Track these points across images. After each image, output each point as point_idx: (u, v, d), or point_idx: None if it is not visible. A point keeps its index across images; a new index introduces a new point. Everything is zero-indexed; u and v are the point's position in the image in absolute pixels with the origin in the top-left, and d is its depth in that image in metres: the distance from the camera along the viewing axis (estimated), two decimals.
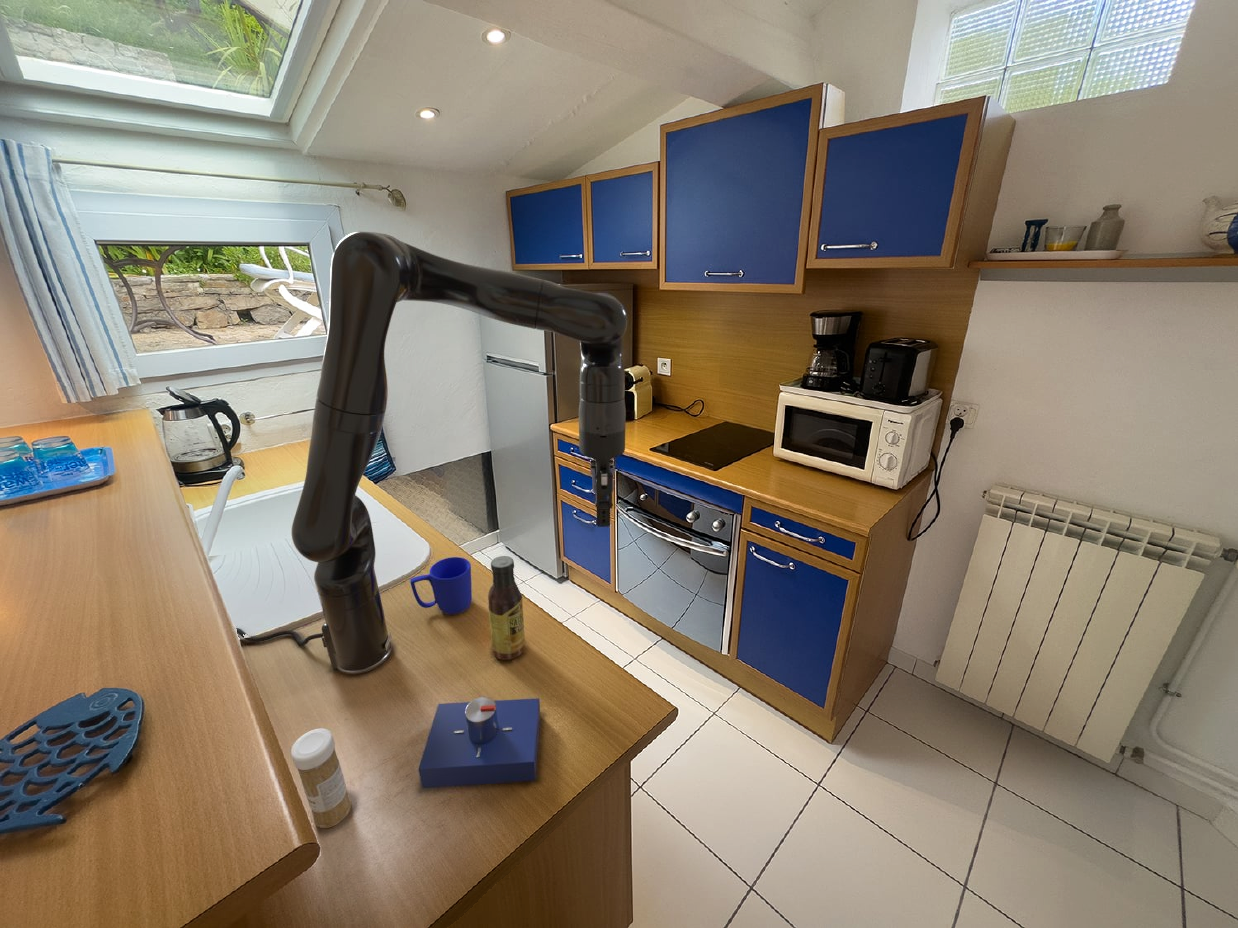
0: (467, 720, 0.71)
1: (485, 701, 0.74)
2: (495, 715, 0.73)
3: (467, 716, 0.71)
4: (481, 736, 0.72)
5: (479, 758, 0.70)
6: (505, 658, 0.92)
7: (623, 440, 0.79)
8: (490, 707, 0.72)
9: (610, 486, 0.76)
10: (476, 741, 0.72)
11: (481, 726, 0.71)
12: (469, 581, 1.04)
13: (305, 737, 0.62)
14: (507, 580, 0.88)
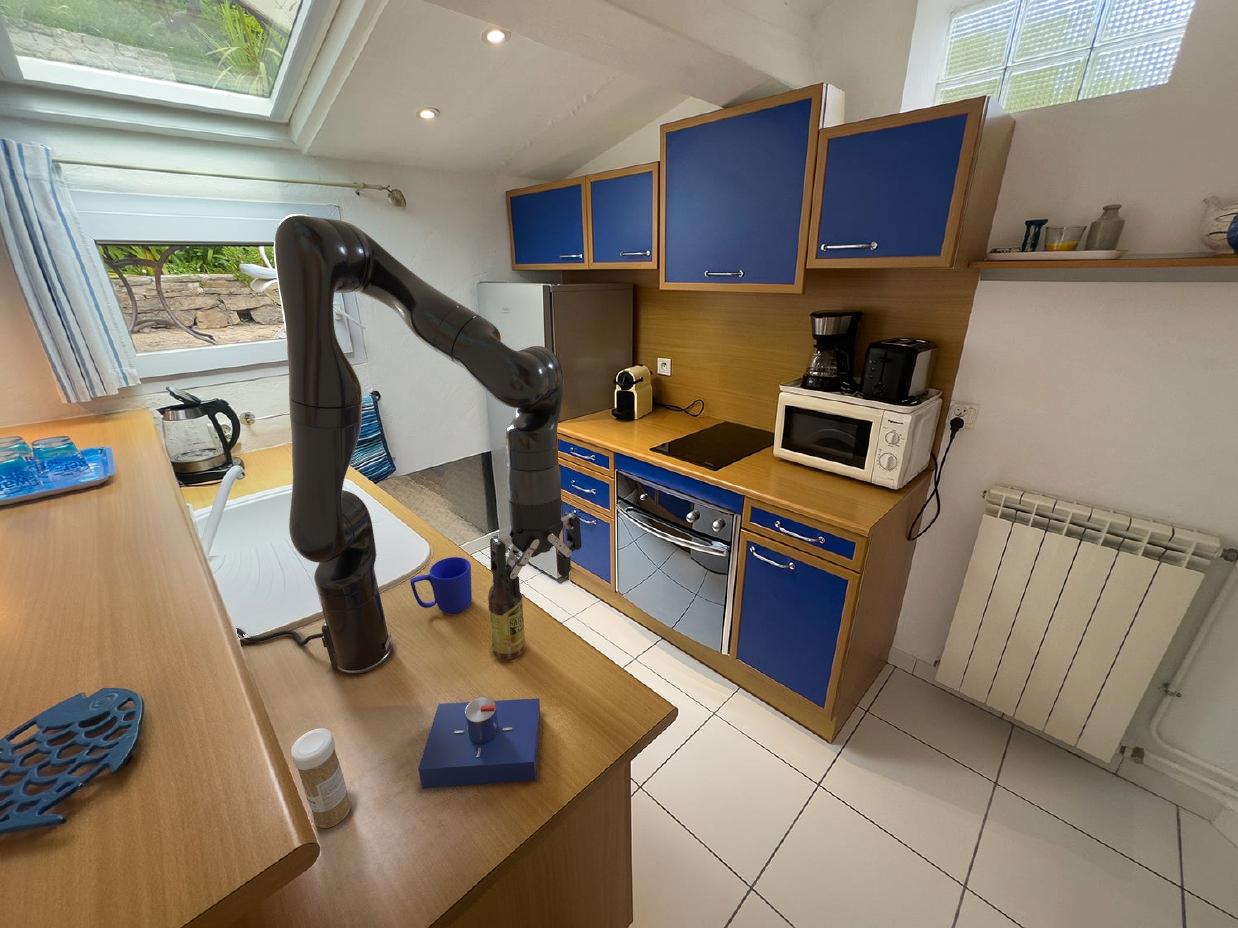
0: (467, 720, 0.71)
1: (485, 701, 0.74)
2: (495, 715, 0.73)
3: (467, 716, 0.71)
4: (481, 736, 0.72)
5: (479, 758, 0.70)
6: (505, 658, 0.92)
7: (536, 516, 0.68)
8: (490, 707, 0.72)
9: (496, 556, 0.69)
10: (476, 741, 0.72)
11: (481, 726, 0.71)
12: (469, 581, 1.04)
13: (305, 737, 0.62)
14: None
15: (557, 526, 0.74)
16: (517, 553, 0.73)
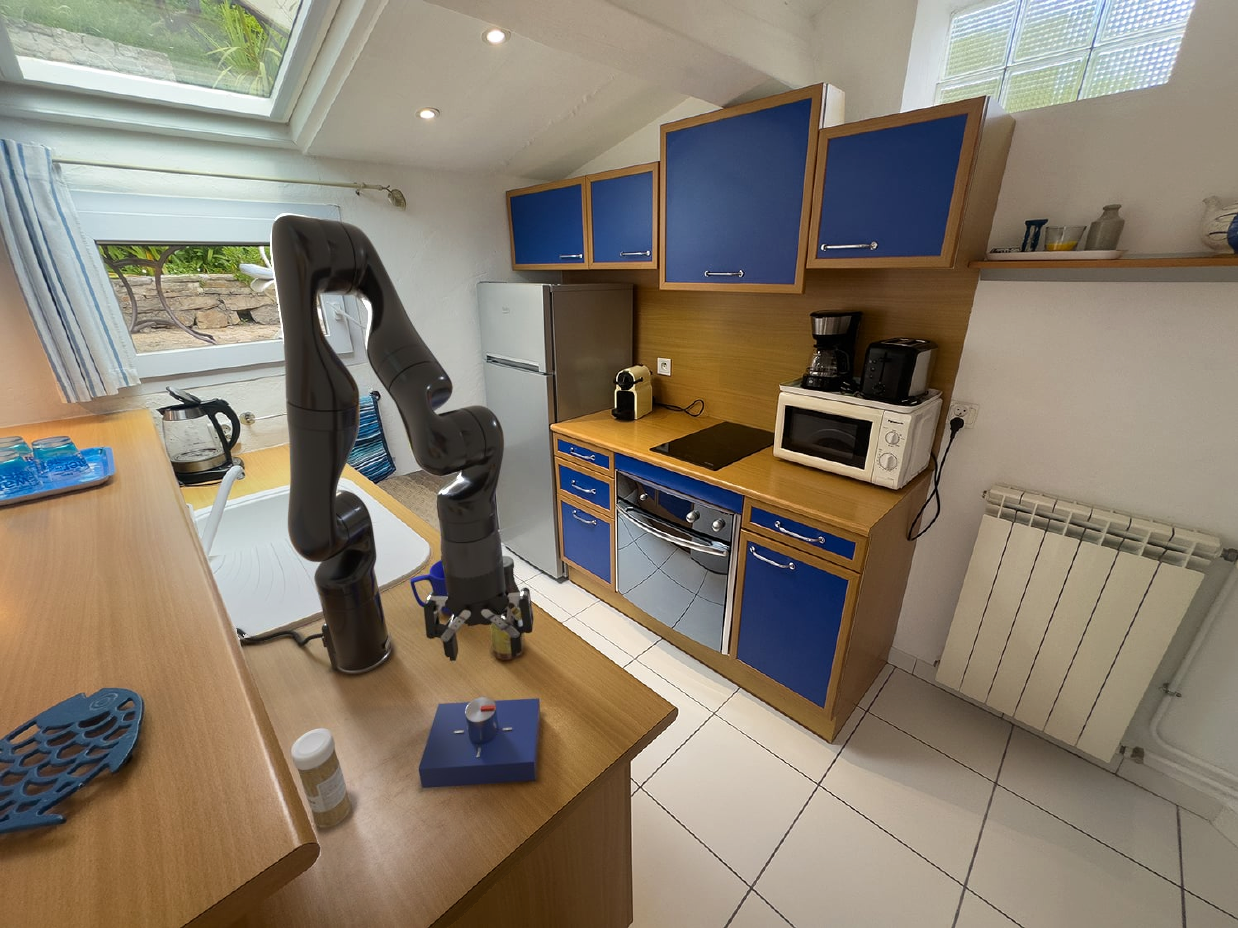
0: (467, 720, 0.71)
1: (485, 701, 0.74)
2: (495, 715, 0.73)
3: (467, 716, 0.71)
4: (481, 736, 0.72)
5: (479, 758, 0.70)
6: (505, 658, 0.92)
7: (456, 588, 0.62)
8: (490, 707, 0.72)
9: None
10: (476, 741, 0.72)
11: (481, 726, 0.71)
12: None
13: (305, 737, 0.62)
14: (507, 580, 0.88)
15: (498, 602, 0.66)
16: None
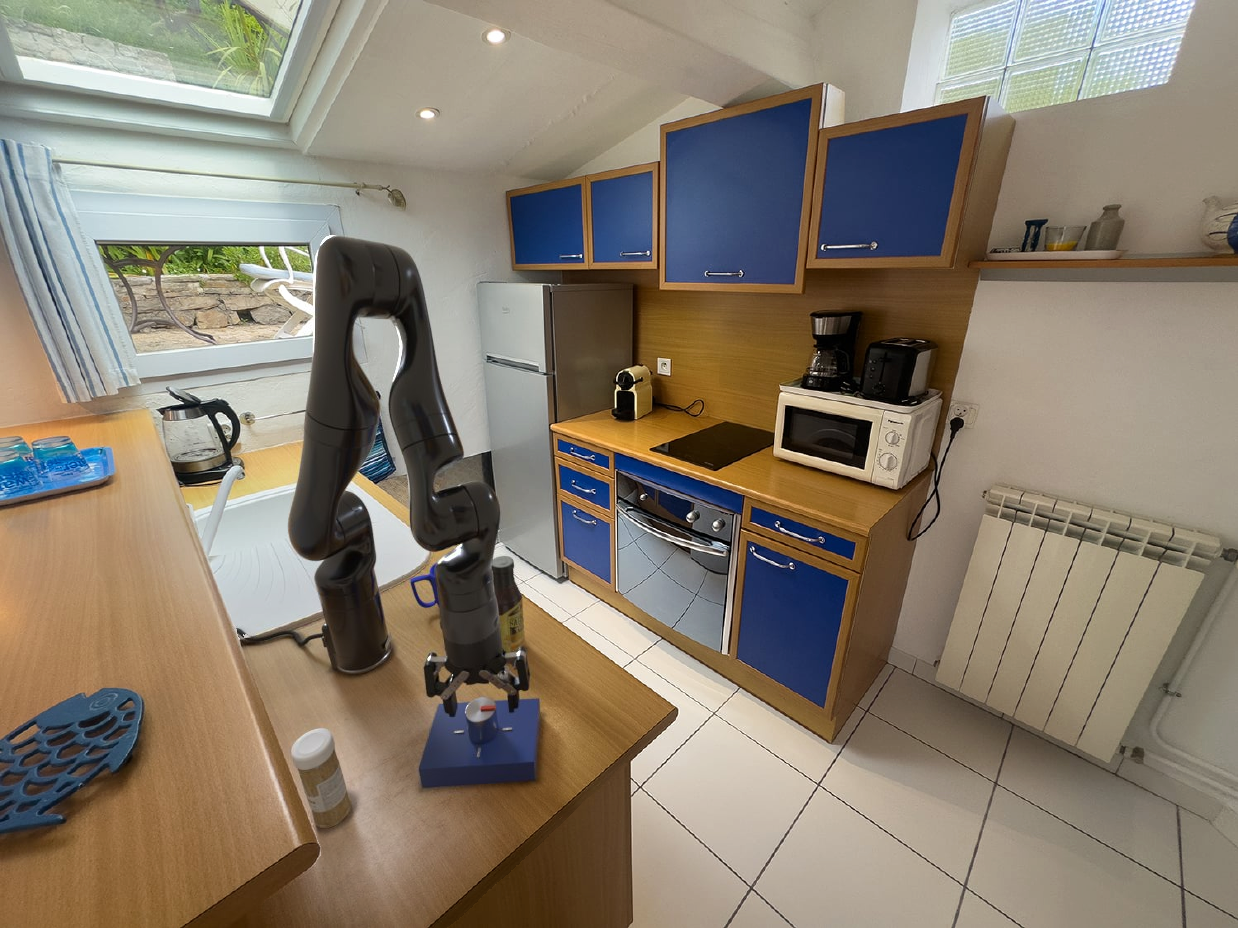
0: (467, 720, 0.71)
1: (485, 701, 0.74)
2: (495, 715, 0.73)
3: (467, 716, 0.71)
4: (481, 736, 0.72)
5: (479, 758, 0.70)
6: None
7: (454, 653, 0.64)
8: (490, 707, 0.72)
9: None
10: (476, 741, 0.72)
11: (481, 726, 0.71)
12: None
13: (305, 737, 0.62)
14: (507, 580, 0.88)
15: (495, 663, 0.68)
16: None
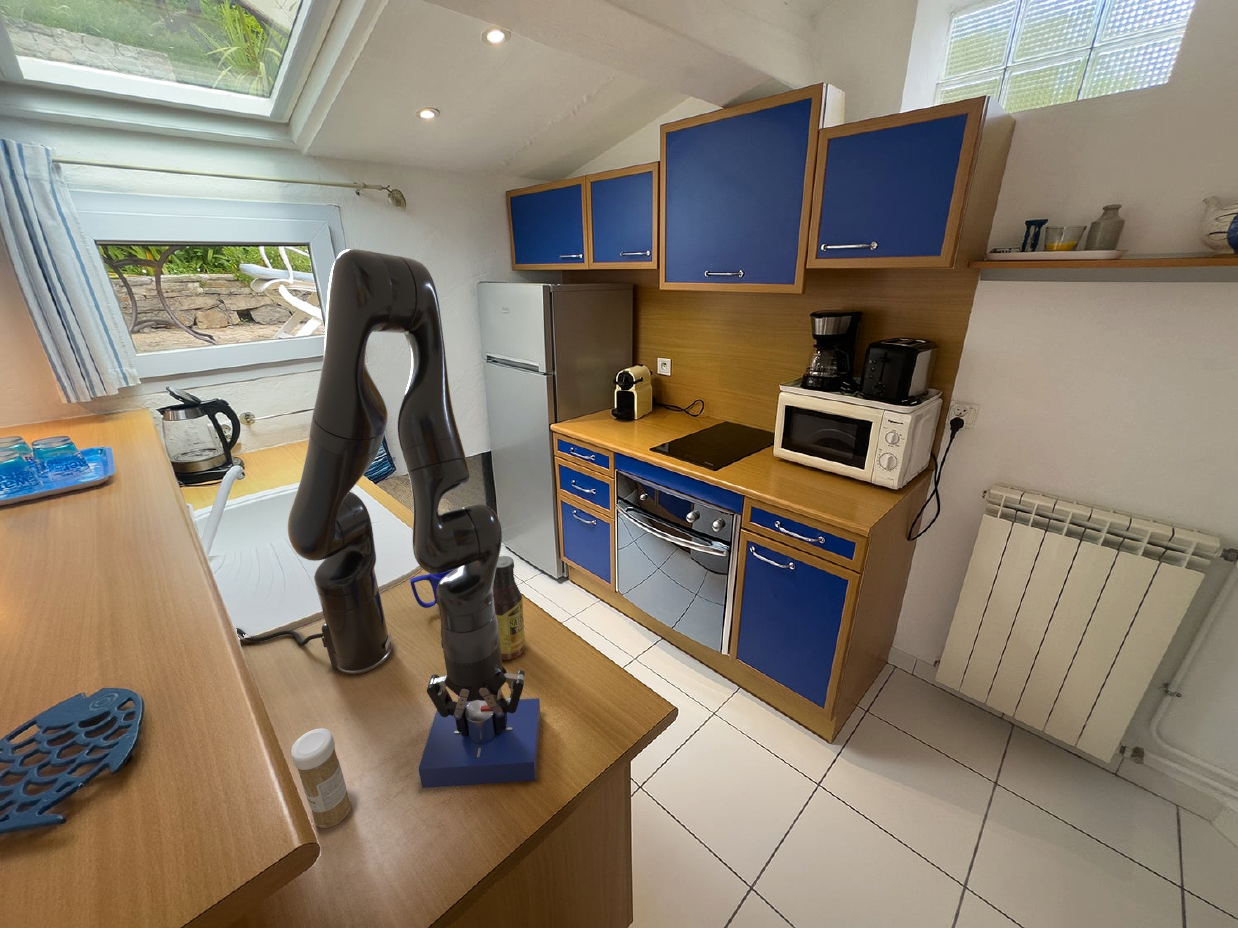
0: (467, 720, 0.71)
1: (485, 701, 0.74)
2: None
3: (467, 716, 0.71)
4: (481, 736, 0.72)
5: (479, 758, 0.70)
6: (505, 658, 0.92)
7: (455, 672, 0.65)
8: None
9: (431, 697, 0.70)
10: (476, 741, 0.72)
11: (481, 726, 0.71)
12: None
13: (305, 737, 0.62)
14: (507, 580, 0.88)
15: (495, 680, 0.69)
16: None
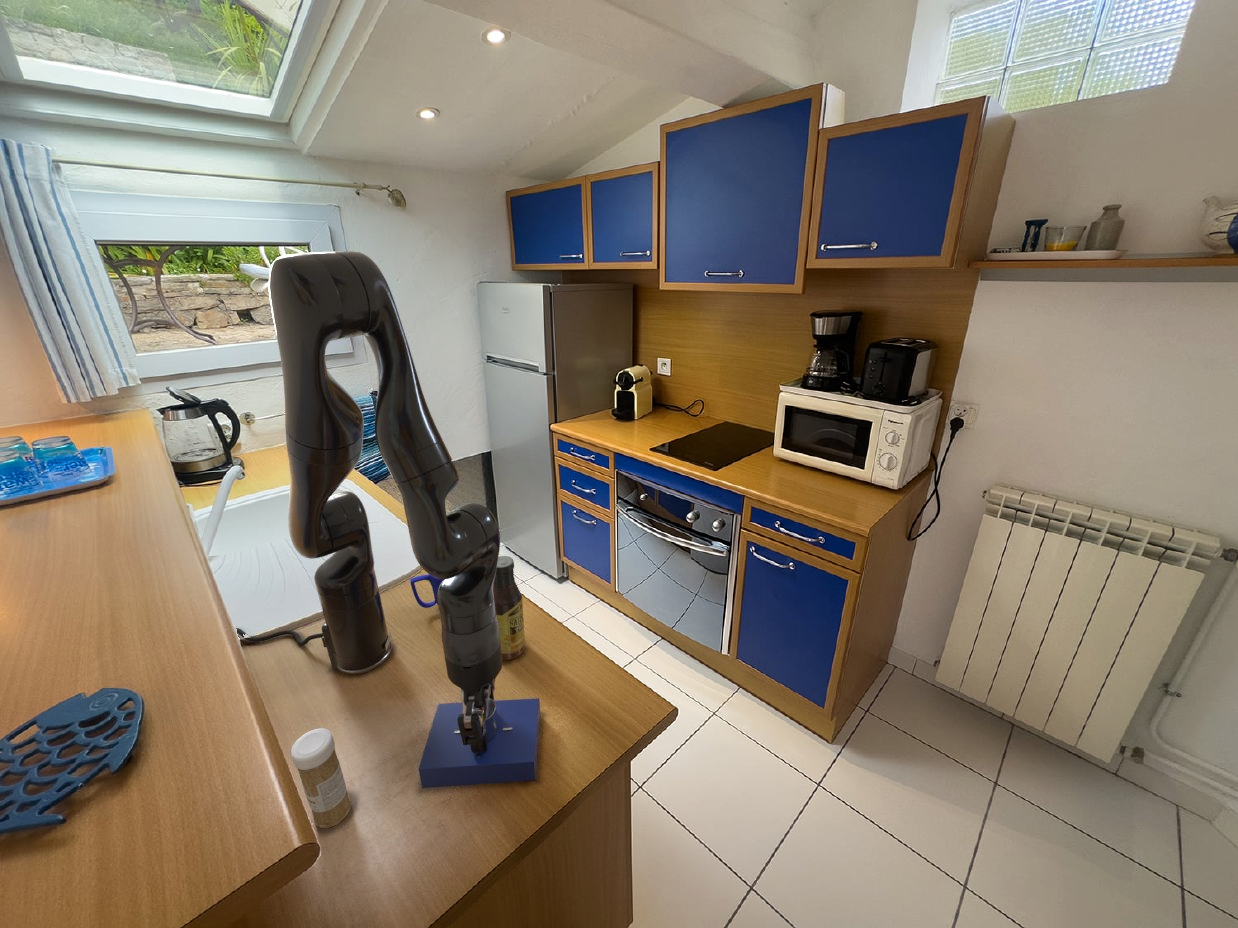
0: (489, 720, 0.71)
1: None
2: None
3: (487, 717, 0.71)
4: (497, 720, 0.74)
5: (479, 758, 0.70)
6: (505, 658, 0.92)
7: (496, 663, 0.67)
8: None
9: (476, 729, 0.65)
10: (497, 730, 0.74)
11: None
12: None
13: (305, 737, 0.62)
14: (507, 580, 0.88)
15: None
16: None
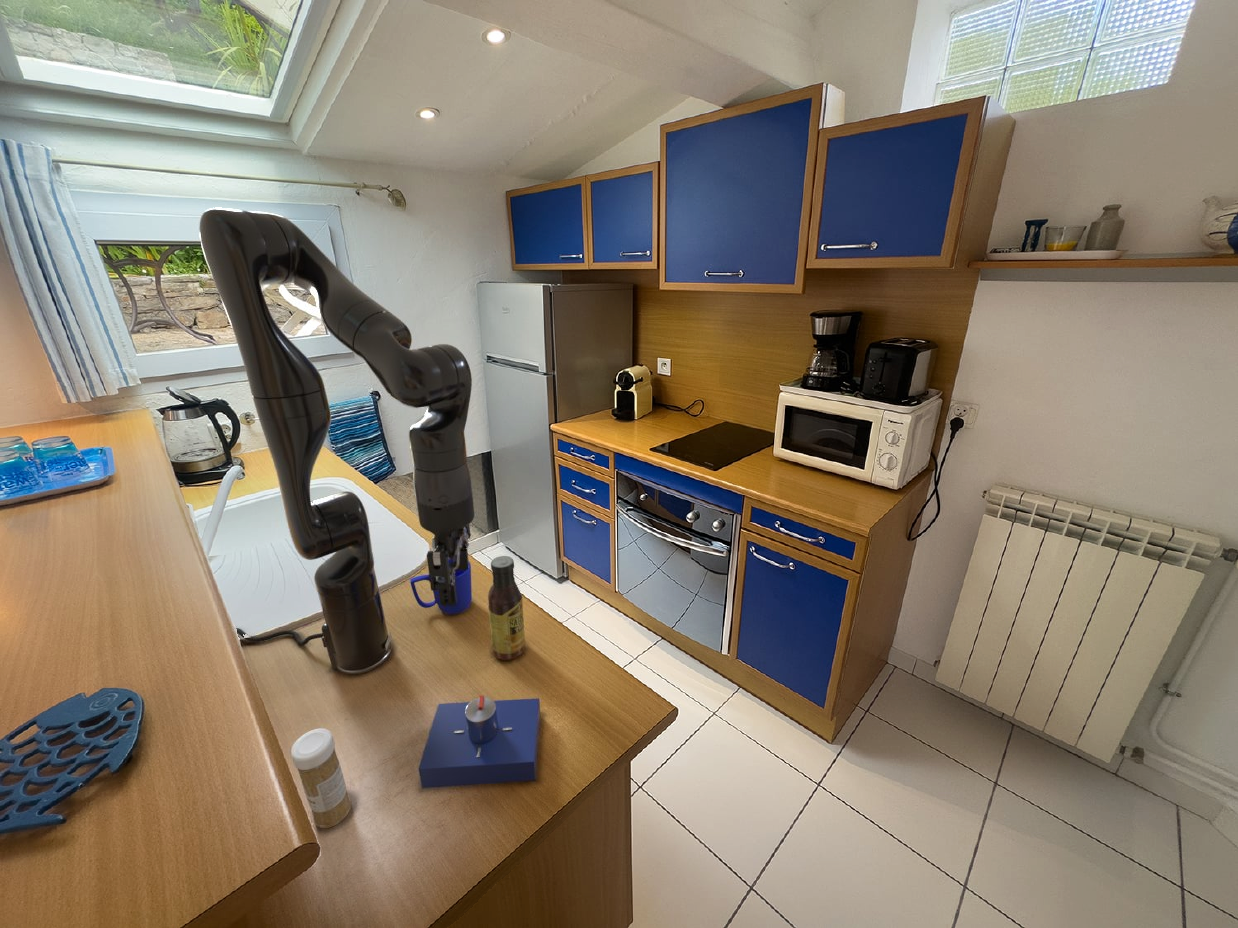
0: (489, 720, 0.71)
1: (472, 707, 0.73)
2: None
3: (487, 717, 0.71)
4: (497, 720, 0.74)
5: (479, 758, 0.70)
6: (505, 658, 0.92)
7: (467, 510, 0.69)
8: (482, 698, 0.74)
9: (444, 566, 0.66)
10: (497, 730, 0.74)
11: None
12: (469, 581, 1.04)
13: (305, 737, 0.62)
14: (507, 580, 0.88)
15: None
16: None
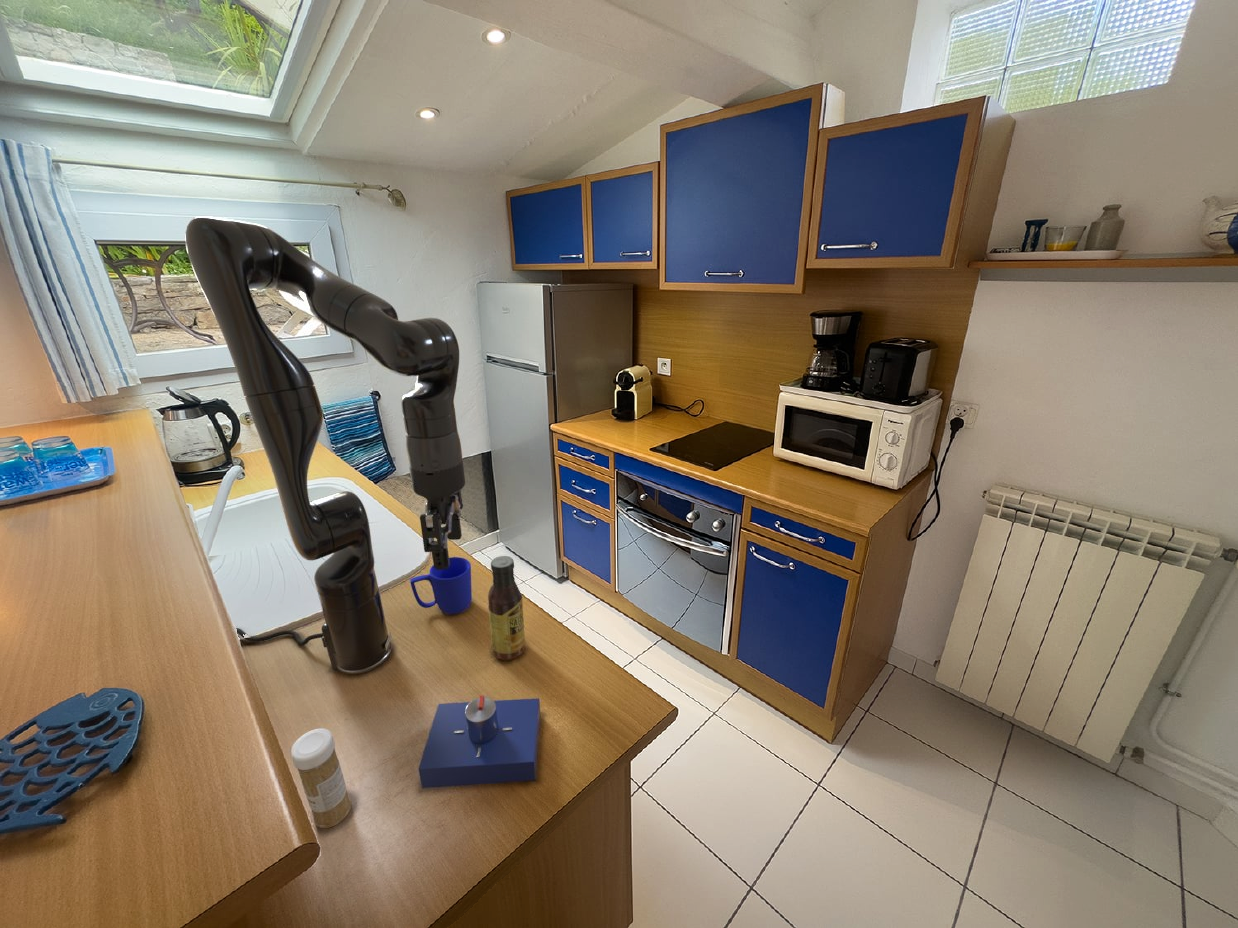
0: (489, 720, 0.71)
1: (472, 707, 0.73)
2: None
3: (487, 717, 0.71)
4: (497, 720, 0.74)
5: (479, 758, 0.70)
6: (505, 658, 0.92)
7: (458, 476, 0.72)
8: (482, 698, 0.74)
9: (437, 528, 0.70)
10: (497, 730, 0.74)
11: None
12: (469, 581, 1.04)
13: (305, 737, 0.62)
14: (507, 580, 0.88)
15: None
16: None
